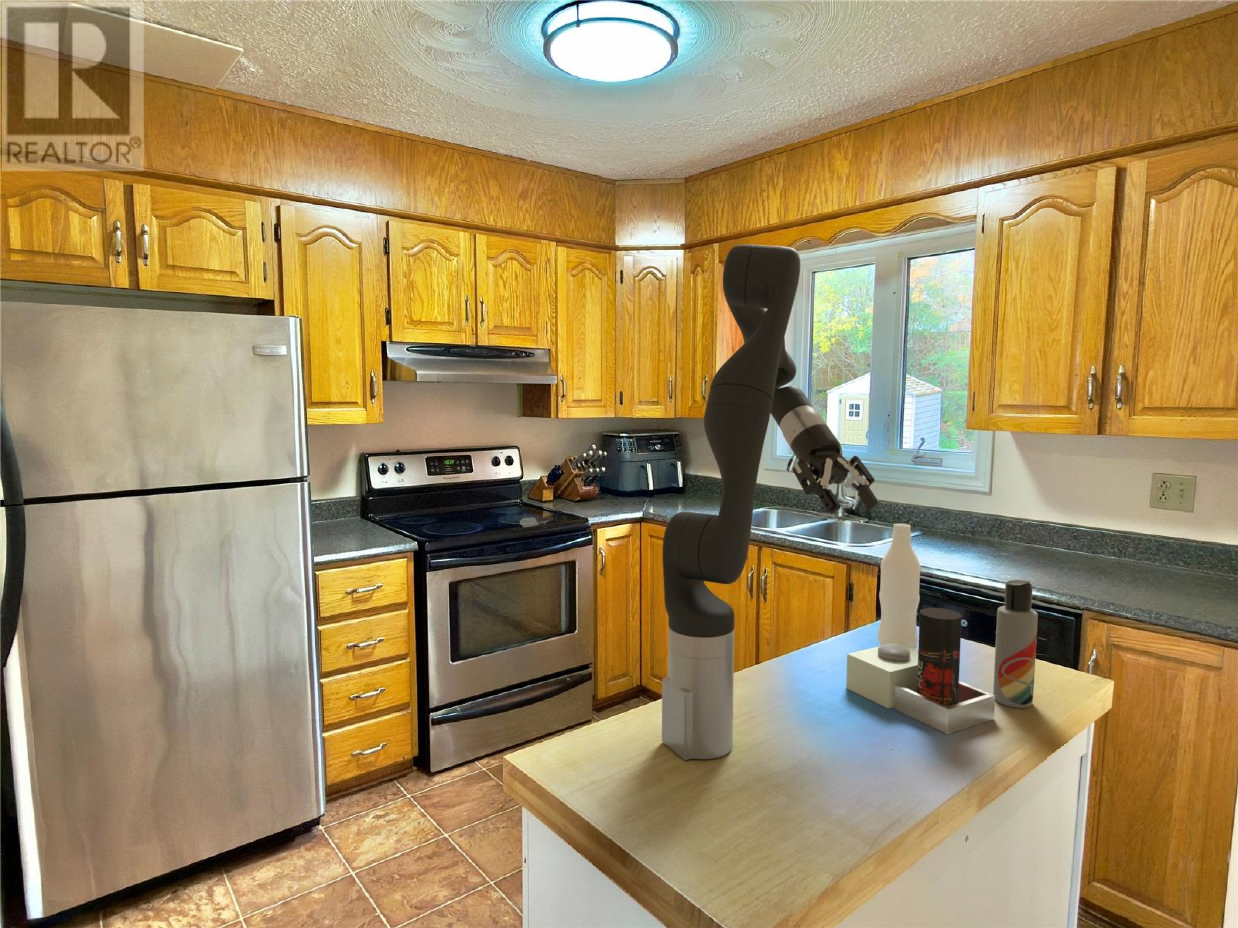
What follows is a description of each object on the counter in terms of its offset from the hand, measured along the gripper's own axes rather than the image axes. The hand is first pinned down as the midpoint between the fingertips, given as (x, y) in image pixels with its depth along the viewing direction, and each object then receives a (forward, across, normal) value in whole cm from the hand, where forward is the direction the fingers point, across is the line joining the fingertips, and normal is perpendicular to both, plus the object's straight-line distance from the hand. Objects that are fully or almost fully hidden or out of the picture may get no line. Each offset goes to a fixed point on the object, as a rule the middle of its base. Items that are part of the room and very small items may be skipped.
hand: (855, 509), depth 119 cm
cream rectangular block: (+25, +5, +18) cm, 31 cm away
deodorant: (+31, +5, +12) cm, 33 cm away
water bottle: (+17, +20, +27) cm, 37 cm away
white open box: (+31, +5, +12) cm, 34 cm away
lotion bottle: (+34, +19, +10) cm, 40 cm away
